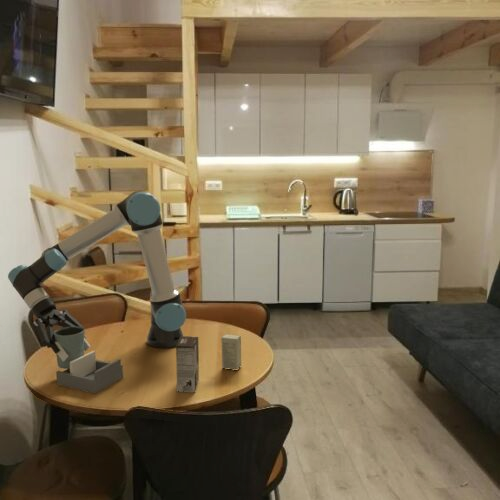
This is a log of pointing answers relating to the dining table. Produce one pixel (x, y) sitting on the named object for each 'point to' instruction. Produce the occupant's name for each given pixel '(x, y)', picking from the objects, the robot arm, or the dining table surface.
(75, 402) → the dining table surface
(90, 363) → the pusher
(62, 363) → the grey-green cup
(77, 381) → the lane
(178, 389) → the coffee box
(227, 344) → the skincare box
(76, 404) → the dining table surface
